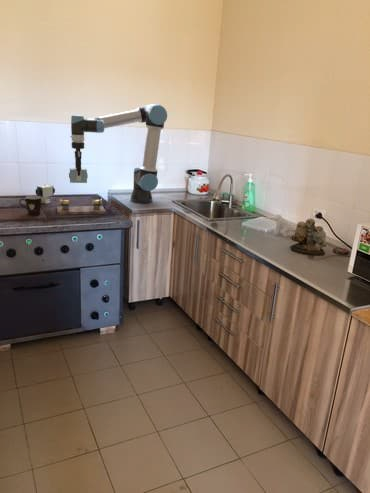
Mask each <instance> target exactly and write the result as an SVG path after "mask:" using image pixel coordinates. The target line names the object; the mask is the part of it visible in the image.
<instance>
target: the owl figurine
mask: <svg viewBox="0 0 370 493" xmlns="http://www.w3.org/2000/svg"><path fill="white" fill-rule="evenodd" d="M289 237H290V239H291V241H292V242H293V241H294V242H297V243H294V244H292V245H291V246H290V247H289V249H290V250H291V251H292V252H293V253H297V254H302V255H306V256H312V257H313V256H315V257H317V256H318V257H319V256H325V254H326V251H325V250H324V249H323V248H326V247H327V243H324V242H325V241H327V240H326V239H327V238H326V237H327V232H325V230H324V228H323V226H321V225H317V226H316V220H315V219H314V218H311V217H310V218H307V219H306V220H305V222H304V221H303V220H302V221H298V222H297V225H296V230H295V232H294V234H292V235H289Z"/></svg>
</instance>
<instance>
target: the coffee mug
mask: <svg viewBox="0 0 370 493" xmlns="http://www.w3.org/2000/svg"><path fill="white" fill-rule="evenodd" d="M22 200H23V201H24V202H25V203H26V206H25V205H23V204H22V203H21V201H22ZM41 200H42V197H40V196H37V195H27V196H25V197H24V198H20V199H19V201H18V202H19V205H20V206H21V207H23V208H24V209H26V210H27V214H28V216H31V217H32V216H33V217H36V216H37V217H38V216H40V215H41V206H42V202H41Z"/></svg>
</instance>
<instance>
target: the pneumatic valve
mask: <svg viewBox="0 0 370 493" xmlns="http://www.w3.org/2000/svg"><path fill="white" fill-rule="evenodd" d="M55 193H56V189H55V187H54V185H51V184H46V183H45V184H44V185H39V186H36V189H35V196H40V197H41V204H45V205H47V204H50V203H51V202H50V201H51V199H50V197H54V194H55Z"/></svg>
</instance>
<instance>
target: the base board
mask: <svg viewBox="0 0 370 493" xmlns="http://www.w3.org/2000/svg"><path fill="white" fill-rule="evenodd" d="M55 209H56V213H57V215H60V216H61V215H62V216H63V215H64V216H65V215H101V214H102V215H105V214H107V210H106V209H105V208H104V206H103V205H102V206H100V210H94V209H93V205H92V206H90V205H89V206H88V205H87V206H69V210H62V207H60V206H56V208H55Z"/></svg>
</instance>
